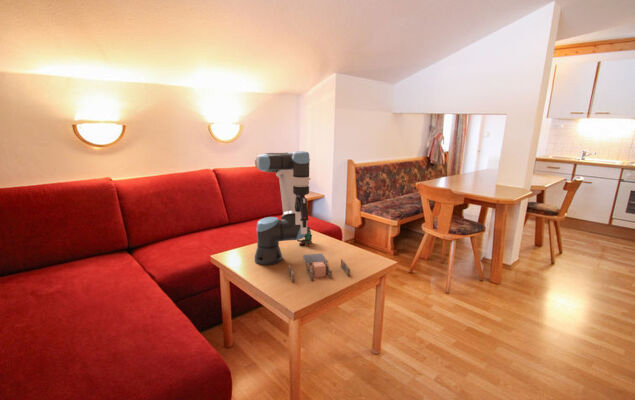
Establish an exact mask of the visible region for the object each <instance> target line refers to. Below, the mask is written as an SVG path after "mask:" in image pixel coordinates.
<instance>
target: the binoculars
mask: <svg viewBox="0 0 635 400" xmlns="http://www.w3.org/2000/svg"><path fill="white" fill-rule="evenodd" d="M312 239H313V234H312V231H311V227H310V226H307V234H305V236H304V238H303V239H299V240H296V241H297V243H298V242H299V244H298V245H299V246H306V247H311V245H312V244H313V241H312Z"/></svg>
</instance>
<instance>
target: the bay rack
mask: <svg viewBox="0 0 635 400" xmlns="http://www.w3.org/2000/svg"><path fill="white" fill-rule="evenodd" d="M326 261H327V260H326ZM326 261H324V264H325V266H326V274H327V276H328V277H329V279H330V280H331V279H333V271H332V269H331V267H330V266H329V264H328V262H327V263H326ZM340 267H341V269H342V270H343V272H344V273H345V275H346V276H347V278H349V277H350V276H351V269H350V267H349V266H348V264H347V263H346V262H345V260H343V259H340ZM306 271H307V274H308V276H309V278H310V281H314V275H313V271H312V267H311V265H309V263H307V264H306ZM288 273H289V277H290V280H291V282H292V284H294V283H295V273H294V270H293V268H292V266H291V264H288Z"/></svg>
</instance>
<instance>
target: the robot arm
mask: <svg viewBox="0 0 635 400" xmlns="http://www.w3.org/2000/svg"><path fill="white" fill-rule="evenodd" d="M310 160H311V158H310V153H309V152H308V151H303V150H302V151H300V150H299V151H294V152H266V153H263V154H259V155H258V156H257V157H256V158H255V160H254V164H255V167H256V169H257V170H258V171H260V172H264V173H275V176H276V177H277V178H278V179H279V180H278V181H279V188H280V196H281V197H280V199H281V205H282V206H281V207H282V215H281V217H280V219H279V217H278V216H276V217H275V216H267V217H264V218H261V219H259V220H258V221H257V223H256V240H257V241H256V243H257V246H256V249H255V254H254V262H255V263H256V264H259V265H263V266H271V265H277V264H279V263H280V262H282V261H283V254H282V251H281V247H280V243H279V242H284V241H285V242H286V241H288V242H289V241H297V240H303V239H305V237H304V236H305V234H307V227H308V221H309V211H308V199H307V198H306V195H308V194H310V181H311V177H310Z"/></svg>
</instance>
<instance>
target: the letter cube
mask: <svg viewBox="0 0 635 400" xmlns="http://www.w3.org/2000/svg"><path fill="white" fill-rule="evenodd" d="M311 266H312V267H311V269H312V271H313V278H321V277H322V278H323V277H326V274H327V273H326V266H325V264H324V263H323V262H312V265H311Z"/></svg>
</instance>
